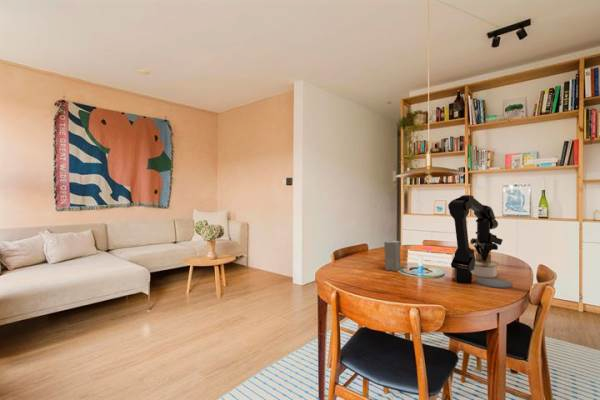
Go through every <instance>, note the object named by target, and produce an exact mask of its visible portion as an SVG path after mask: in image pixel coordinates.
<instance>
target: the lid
mask: <svg viewBox="0 0 600 400" xmlns="http://www.w3.org/2000/svg"><path fill="white" fill-rule="evenodd" d="M475 265H477V266H484V267H496V266H497V267H498V266H499V263H498V262H497V261H495V260H492V255H491V253H489V254H488V257H487V259H486V261H483V259H482V256H481V254H478V253H475Z"/></svg>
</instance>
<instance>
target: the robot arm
mask: <svg viewBox="0 0 600 400" xmlns="http://www.w3.org/2000/svg"><path fill="white" fill-rule="evenodd" d="M447 208H448V211H449V215H450V216H451V217H452V218H453V220H454V227H455V236H456V244H457V245H456V246H457V248H456V250H455V252H454V256H453V259H452V261H451V262H450V267H451V268H452V269H454V277H453V280H454V281H455V282H456V283H457V284H458V283H459V284H473V282H472V281H473V274H472V273H471V270H474V266H475V259H476V255H475V251H476V254H481V256H482V259H483V261H486V259H487V257H488V254H490V252H491V251H495V250H499V249H498V248H499V246H501V245H502V243H503V241H504V240H503V239H502V238H499V237H498V236H497V235H496V234H493V233H492V232H491V230H495V229H497V228H498V226H499V222H498V221H497V219H496V216H495V212H494V210H493V209H492V207H491V206H489V205H485V204H482V203H481V202H480V201H478V200H477V199H476V198H474V195H471V194H464V195H461V196H459V197H457V198H455V199H453V200H451V201H450V202H449V203H448V206H447ZM470 210H471V211H473V214H474V216H475V217H476V218H477V219H476V220H475V223H476V231H475V234H476V238H475V237H474V238H471V239H470V241H469V235H468V227H467V217H468V215H469V214H470ZM469 242H470V244H471V245H473V247H474V249H473V248H471V247H470V244H469Z"/></svg>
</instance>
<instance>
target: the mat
mask: <svg viewBox="0 0 600 400" xmlns="http://www.w3.org/2000/svg"><path fill="white" fill-rule="evenodd" d="M474 283H475V284H478V285H480V286H484V287H488V288H492V289H493V288H494V289H510V288H511V289H512V287H513V283H512V282H511V281H509V280H506V279H502V278H497V277H480V276H477V277H475V278H474Z"/></svg>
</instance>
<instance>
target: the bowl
mask: <svg viewBox="0 0 600 400" xmlns="http://www.w3.org/2000/svg"><path fill="white" fill-rule="evenodd" d="M497 268H498V266H496V267H481V266H477V265H475V266H474V270H471V273H472V276H477V277H491V278H496V277H498V269H497Z"/></svg>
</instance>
